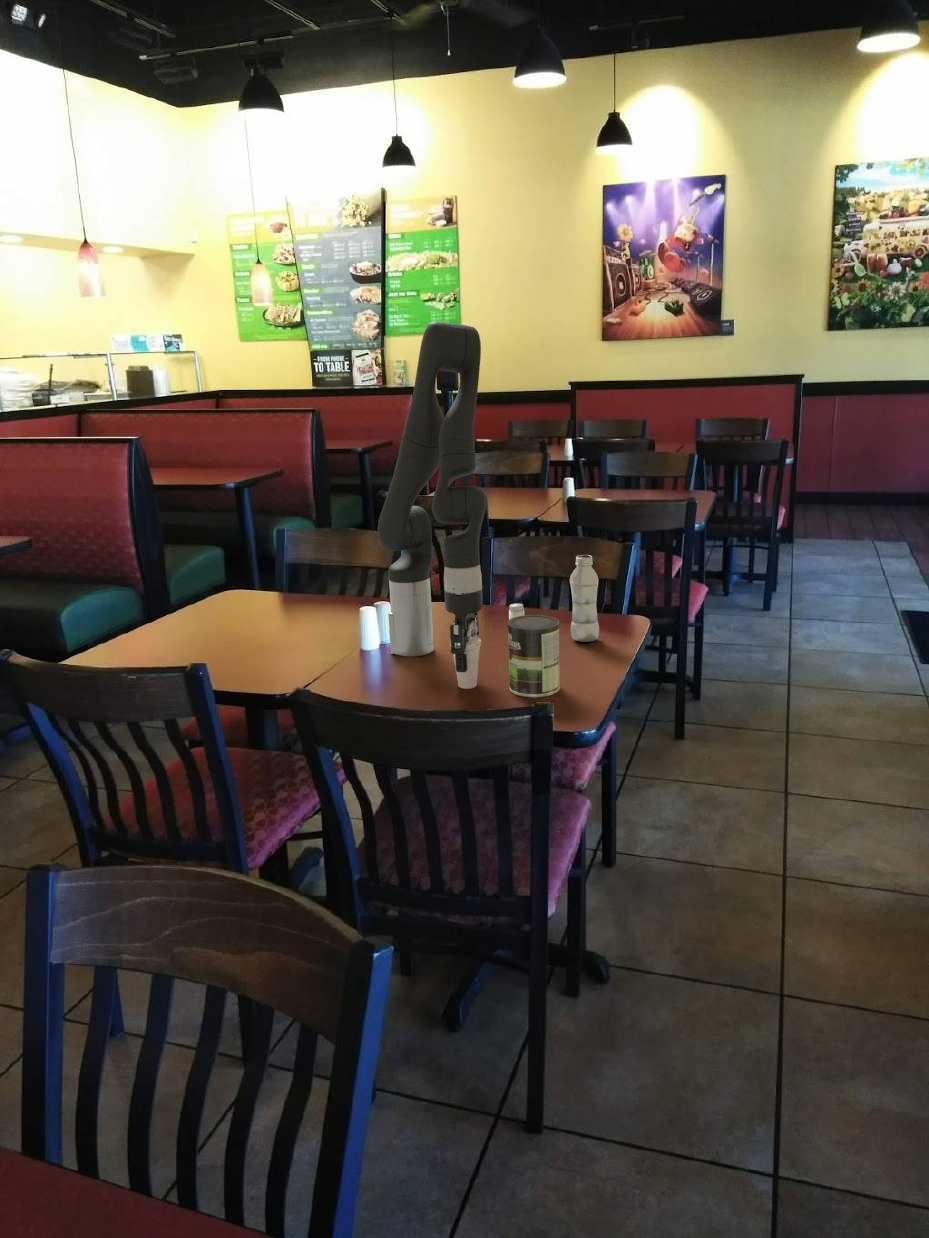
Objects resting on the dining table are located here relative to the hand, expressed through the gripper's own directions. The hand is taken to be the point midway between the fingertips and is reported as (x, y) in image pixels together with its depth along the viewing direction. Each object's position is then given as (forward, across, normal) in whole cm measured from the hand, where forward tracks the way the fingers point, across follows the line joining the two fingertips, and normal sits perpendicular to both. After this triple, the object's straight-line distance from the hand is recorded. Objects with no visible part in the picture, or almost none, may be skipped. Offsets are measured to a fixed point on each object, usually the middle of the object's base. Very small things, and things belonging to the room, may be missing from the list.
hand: (466, 665), depth 190 cm
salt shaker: (+4, -33, +4) cm, 34 cm away
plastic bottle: (+5, -33, +20) cm, 39 cm away
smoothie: (+5, 0, 0) cm, 5 cm away
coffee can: (+5, 0, +14) cm, 15 cm away
